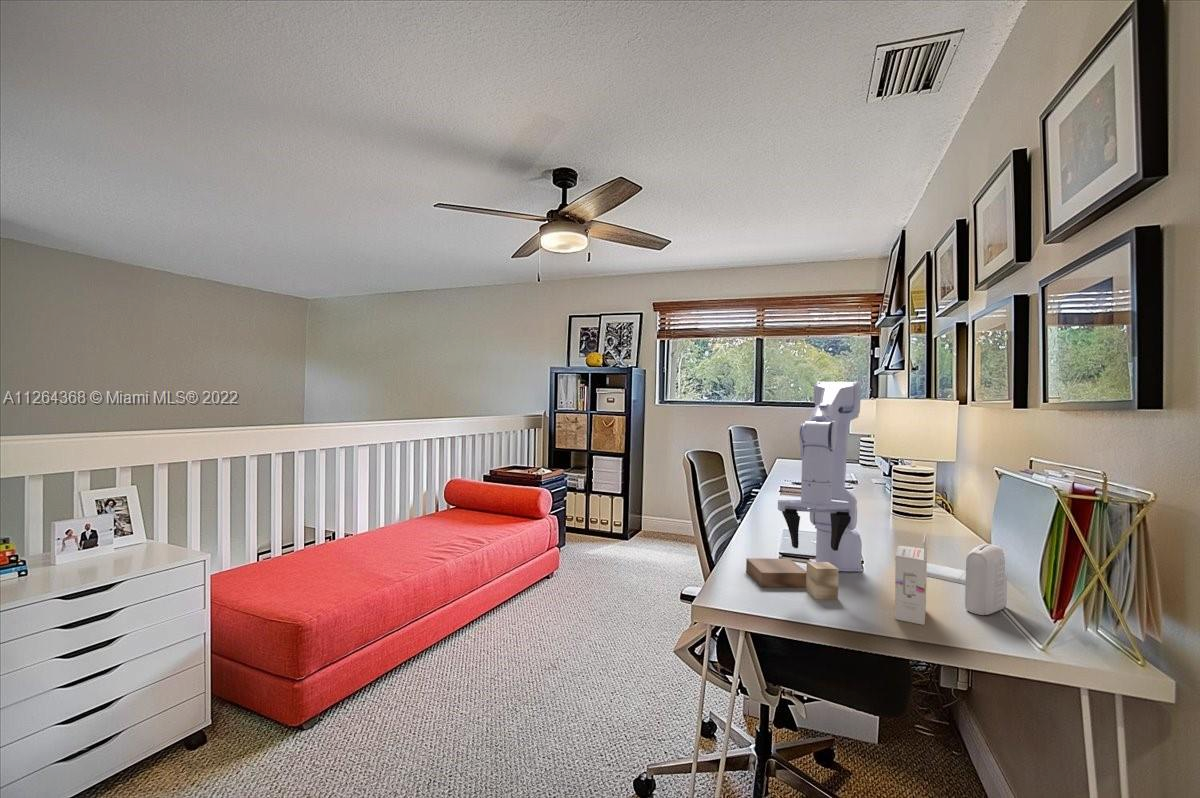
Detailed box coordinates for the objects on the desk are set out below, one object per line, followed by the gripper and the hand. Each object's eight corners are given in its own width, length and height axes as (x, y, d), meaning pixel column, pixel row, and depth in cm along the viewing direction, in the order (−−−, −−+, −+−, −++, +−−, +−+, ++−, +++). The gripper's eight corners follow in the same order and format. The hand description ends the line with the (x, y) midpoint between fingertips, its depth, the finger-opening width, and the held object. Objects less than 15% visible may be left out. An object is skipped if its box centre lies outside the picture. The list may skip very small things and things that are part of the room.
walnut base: (789, 571, 122) (789, 558, 122) (808, 587, 112) (808, 573, 112) (746, 571, 122) (746, 558, 122) (761, 586, 112) (761, 572, 112)
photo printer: (984, 600, 107) (986, 538, 107) (1010, 607, 104) (1011, 544, 104) (961, 610, 102) (962, 545, 102) (987, 618, 98) (988, 551, 98)
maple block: (827, 590, 111) (827, 561, 111) (837, 599, 106) (838, 568, 106) (805, 590, 111) (806, 561, 111) (815, 598, 106) (816, 568, 106)
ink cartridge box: (896, 604, 104) (897, 529, 104) (925, 610, 101) (927, 533, 101) (893, 619, 97) (895, 538, 97) (925, 626, 94) (927, 542, 94)
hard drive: (902, 566, 125) (965, 579, 117) (912, 559, 131) (972, 571, 123) (902, 573, 125) (965, 586, 117) (911, 565, 131) (972, 578, 123)
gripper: (784, 481, 105) (782, 551, 104) (861, 485, 103) (859, 555, 103) (776, 477, 112) (774, 542, 111) (848, 480, 110) (846, 546, 110)
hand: (814, 548), depth 108 cm, fingers open, 7 cm apart
